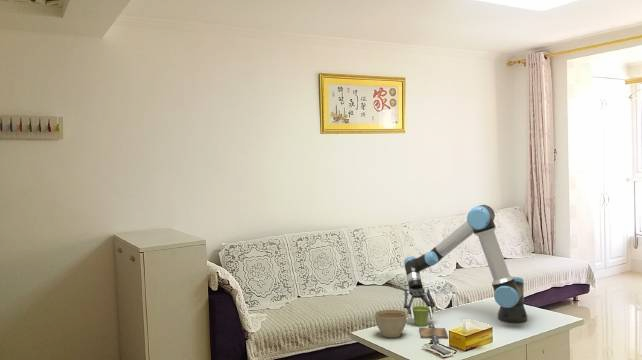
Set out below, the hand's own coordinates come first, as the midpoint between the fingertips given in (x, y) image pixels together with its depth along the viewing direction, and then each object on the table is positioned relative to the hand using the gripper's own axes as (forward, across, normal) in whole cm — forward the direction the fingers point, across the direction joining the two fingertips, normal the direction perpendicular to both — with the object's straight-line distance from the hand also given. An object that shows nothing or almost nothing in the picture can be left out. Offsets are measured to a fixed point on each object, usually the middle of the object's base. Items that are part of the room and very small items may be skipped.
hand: (422, 318), depth 284 cm
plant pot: (+1, 0, -5) cm, 5 cm away
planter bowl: (+11, +19, +5) cm, 23 cm away
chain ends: (+14, -2, +8) cm, 16 cm away
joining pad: (+12, -2, +7) cm, 14 cm away
